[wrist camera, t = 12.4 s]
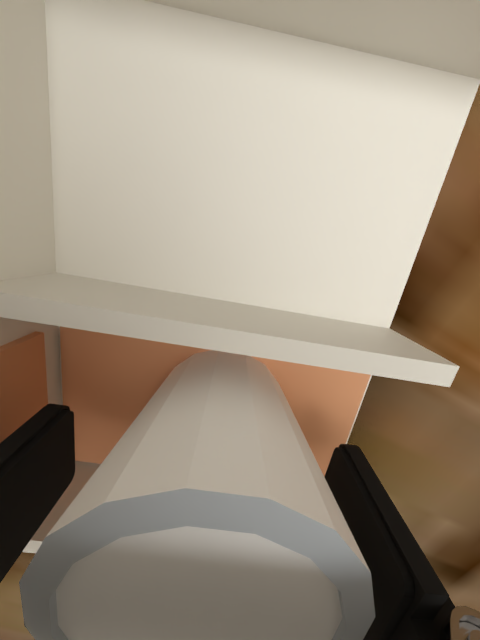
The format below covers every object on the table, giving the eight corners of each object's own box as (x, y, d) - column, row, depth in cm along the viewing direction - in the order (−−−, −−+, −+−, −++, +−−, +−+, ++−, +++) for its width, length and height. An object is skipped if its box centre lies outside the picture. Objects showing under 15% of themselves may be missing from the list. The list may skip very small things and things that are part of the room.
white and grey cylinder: (226, 484, 13) (212, 747, 6) (117, 406, 11) (-57, 638, 5) (326, 402, 11) (453, 624, 5) (217, 302, 10) (174, 416, 3)
